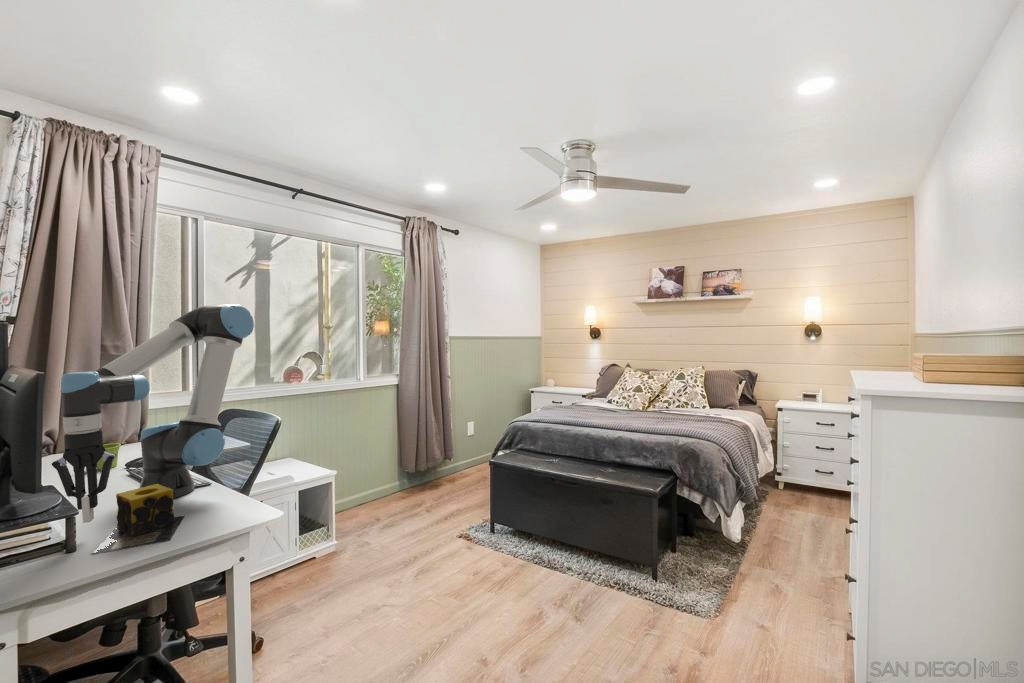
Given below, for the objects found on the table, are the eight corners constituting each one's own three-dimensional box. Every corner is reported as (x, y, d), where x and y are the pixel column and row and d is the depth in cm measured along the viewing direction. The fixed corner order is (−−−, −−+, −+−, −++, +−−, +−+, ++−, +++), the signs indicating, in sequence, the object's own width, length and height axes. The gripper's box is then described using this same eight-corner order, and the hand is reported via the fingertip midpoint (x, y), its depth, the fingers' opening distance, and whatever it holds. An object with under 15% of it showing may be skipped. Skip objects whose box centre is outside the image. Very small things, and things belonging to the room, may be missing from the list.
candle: (116, 530, 131) (114, 494, 131) (160, 517, 140) (157, 482, 139) (131, 538, 125) (129, 500, 125) (175, 524, 134) (173, 488, 133)
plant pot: (128, 463, 200) (126, 442, 199) (110, 470, 190) (109, 448, 190) (104, 464, 199) (102, 443, 199) (85, 471, 190) (83, 449, 189)
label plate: (116, 526, 134) (116, 526, 134) (185, 515, 140) (185, 515, 140) (90, 554, 117) (90, 554, 117) (169, 540, 124) (169, 540, 124)
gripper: (43, 436, 121) (49, 530, 121) (109, 430, 126) (114, 521, 126) (57, 431, 127) (63, 520, 128) (119, 425, 133) (124, 511, 133)
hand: (88, 520), depth 127 cm, fingers closed
